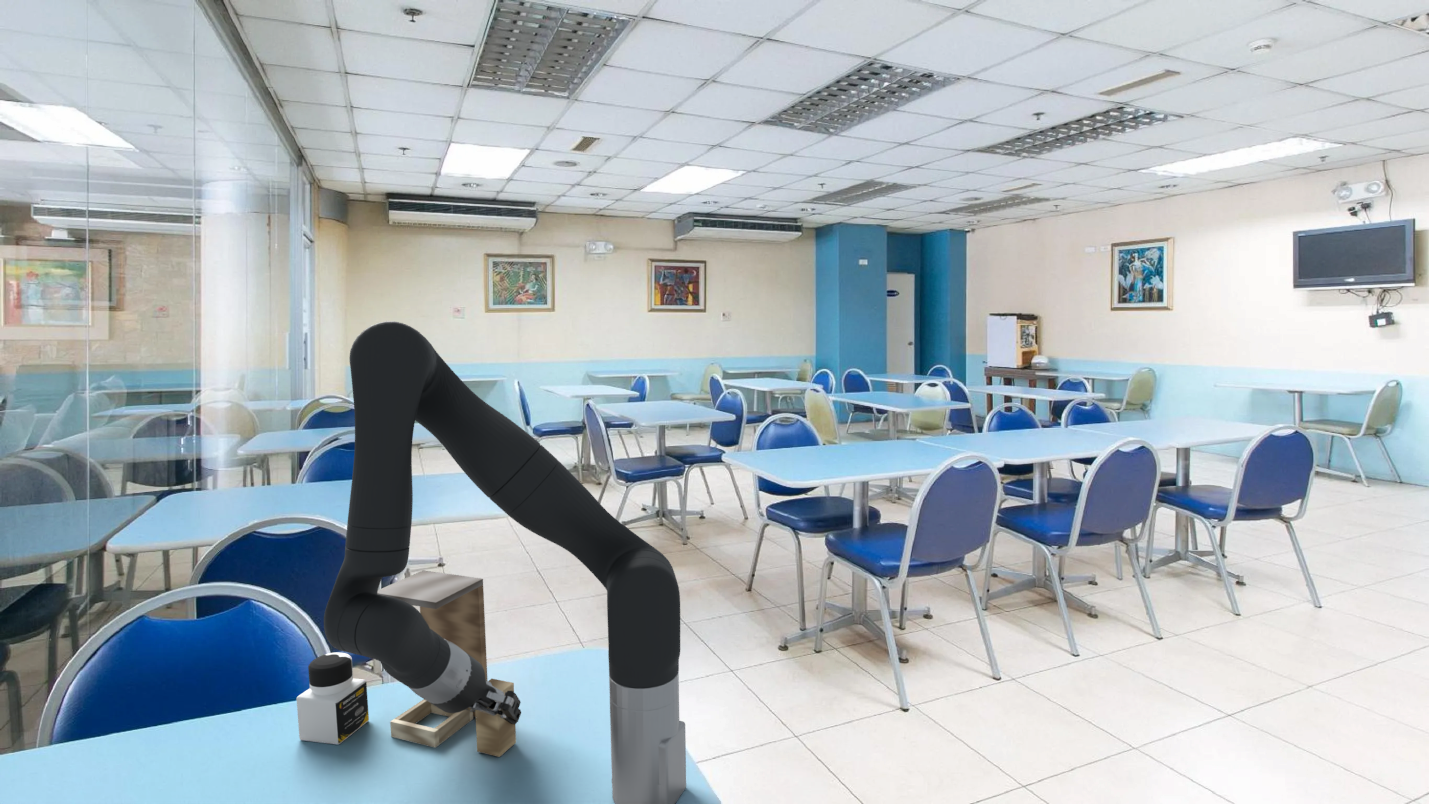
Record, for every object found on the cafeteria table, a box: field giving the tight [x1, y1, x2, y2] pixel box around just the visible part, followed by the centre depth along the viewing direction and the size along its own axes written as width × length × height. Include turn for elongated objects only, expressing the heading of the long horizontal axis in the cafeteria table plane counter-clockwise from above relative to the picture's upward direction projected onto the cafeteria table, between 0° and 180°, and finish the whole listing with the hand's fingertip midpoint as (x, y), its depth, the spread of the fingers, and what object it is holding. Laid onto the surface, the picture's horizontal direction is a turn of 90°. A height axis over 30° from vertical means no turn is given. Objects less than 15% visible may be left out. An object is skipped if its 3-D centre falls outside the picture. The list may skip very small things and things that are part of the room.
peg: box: [475, 678, 517, 758], centre depth 111 cm, size 4×4×10 cm
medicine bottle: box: [296, 651, 370, 745], centre depth 116 cm, size 7×7×12 cm
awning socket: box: [377, 570, 489, 749], centre depth 116 cm, size 12×11×23 cm
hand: (503, 714), depth 113 cm, fingers closed on peg, 4 cm apart
